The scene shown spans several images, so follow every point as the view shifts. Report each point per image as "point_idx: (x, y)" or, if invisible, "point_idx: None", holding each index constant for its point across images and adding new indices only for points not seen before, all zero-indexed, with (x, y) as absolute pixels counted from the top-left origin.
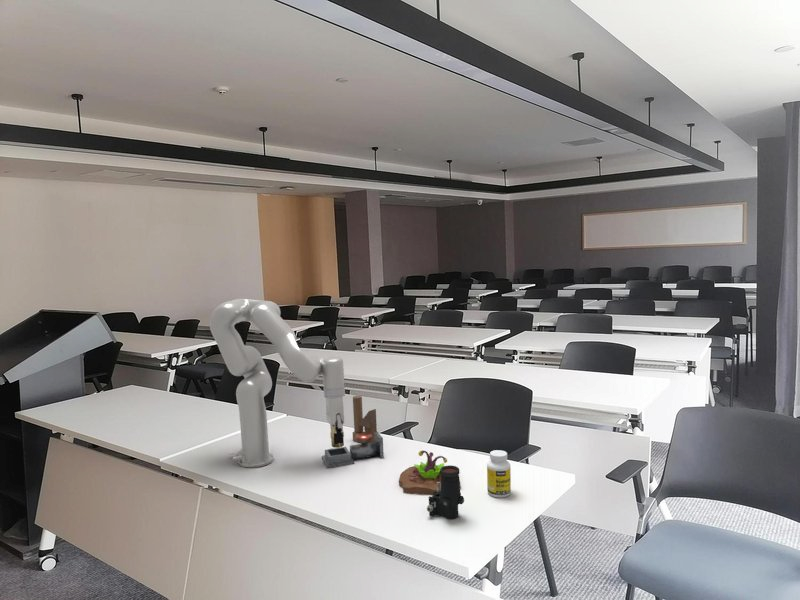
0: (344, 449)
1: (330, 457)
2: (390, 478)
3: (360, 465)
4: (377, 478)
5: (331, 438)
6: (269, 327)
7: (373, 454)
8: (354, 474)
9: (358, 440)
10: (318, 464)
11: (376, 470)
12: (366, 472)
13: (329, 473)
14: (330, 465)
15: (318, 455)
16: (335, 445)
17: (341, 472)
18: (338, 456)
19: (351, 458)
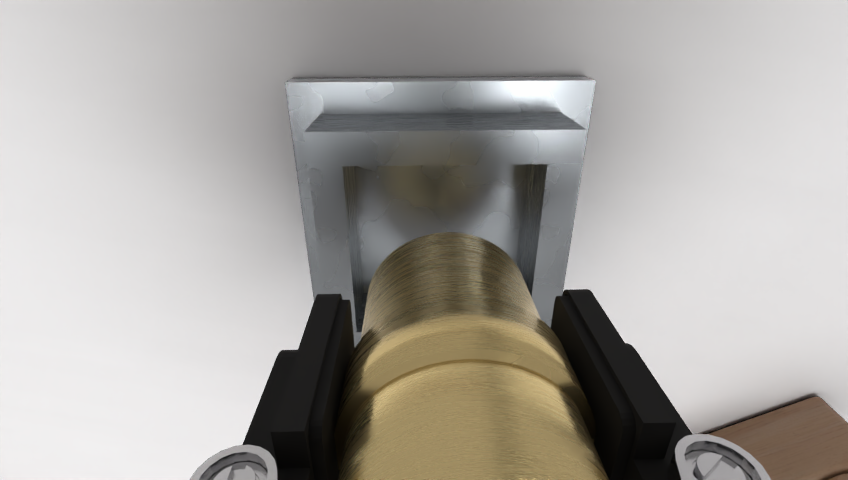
0: None
1: (306, 153)
2: (4, 455)
3: (279, 349)
4: (6, 396)
5: (418, 300)
6: None
7: None
8: (98, 279)
9: (756, 431)
10: (437, 7)
11: (156, 416)
12: (128, 358)
13: (152, 79)
14: (290, 123)
15: (695, 56)
16: (376, 283)
17: (159, 192)
18: (318, 240)
19: None
